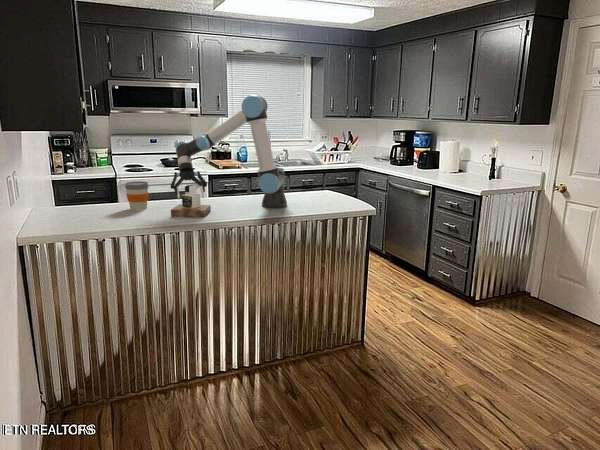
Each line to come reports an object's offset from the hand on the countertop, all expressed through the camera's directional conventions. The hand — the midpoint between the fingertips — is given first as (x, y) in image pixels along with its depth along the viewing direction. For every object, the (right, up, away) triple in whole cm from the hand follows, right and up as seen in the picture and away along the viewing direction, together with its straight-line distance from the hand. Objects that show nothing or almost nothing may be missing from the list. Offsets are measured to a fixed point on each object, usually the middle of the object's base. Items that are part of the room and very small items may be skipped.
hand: (191, 197), depth 237 cm
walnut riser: (-1, -9, +5) cm, 10 cm away
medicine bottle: (-1, -5, +4) cm, 7 cm away
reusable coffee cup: (-35, -6, +17) cm, 39 cm away
